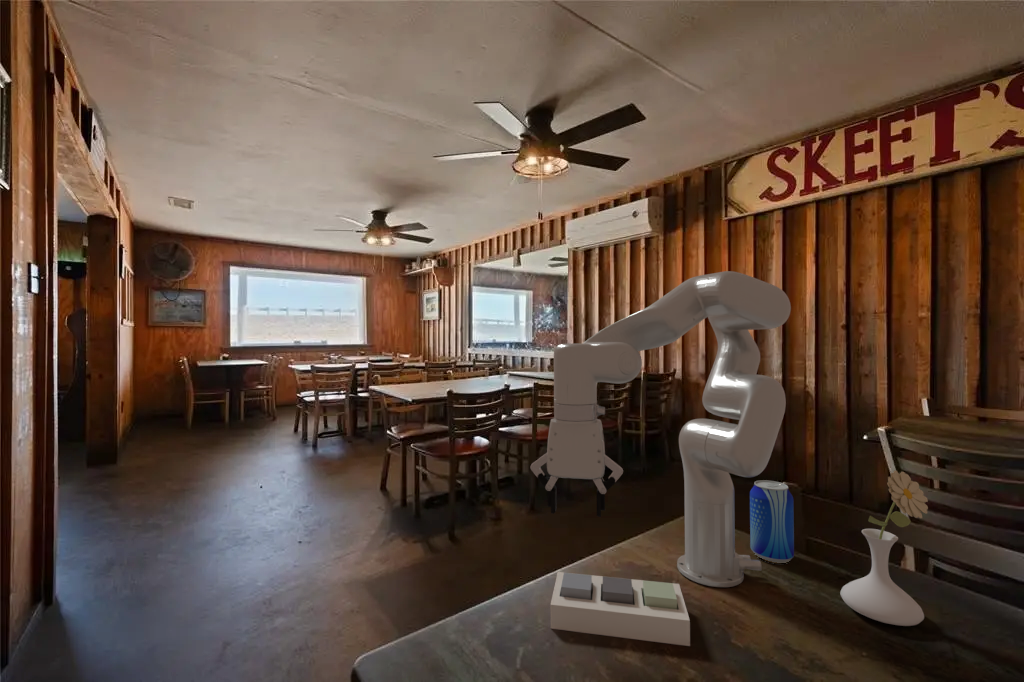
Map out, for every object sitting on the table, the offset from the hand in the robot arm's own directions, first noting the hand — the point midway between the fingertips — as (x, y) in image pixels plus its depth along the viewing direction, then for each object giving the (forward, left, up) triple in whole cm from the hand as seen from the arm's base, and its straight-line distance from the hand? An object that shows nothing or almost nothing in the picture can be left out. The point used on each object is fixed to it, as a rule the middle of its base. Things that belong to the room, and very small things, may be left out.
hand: (576, 511), depth 80 cm
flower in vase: (-53, -10, -18) cm, 57 cm away
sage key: (-14, 0, -15) cm, 21 cm away
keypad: (-7, 0, -18) cm, 19 cm away
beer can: (-41, -29, -18) cm, 54 cm away
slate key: (0, 0, -15) cm, 15 cm away
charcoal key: (-7, 0, -15) cm, 17 cm away
